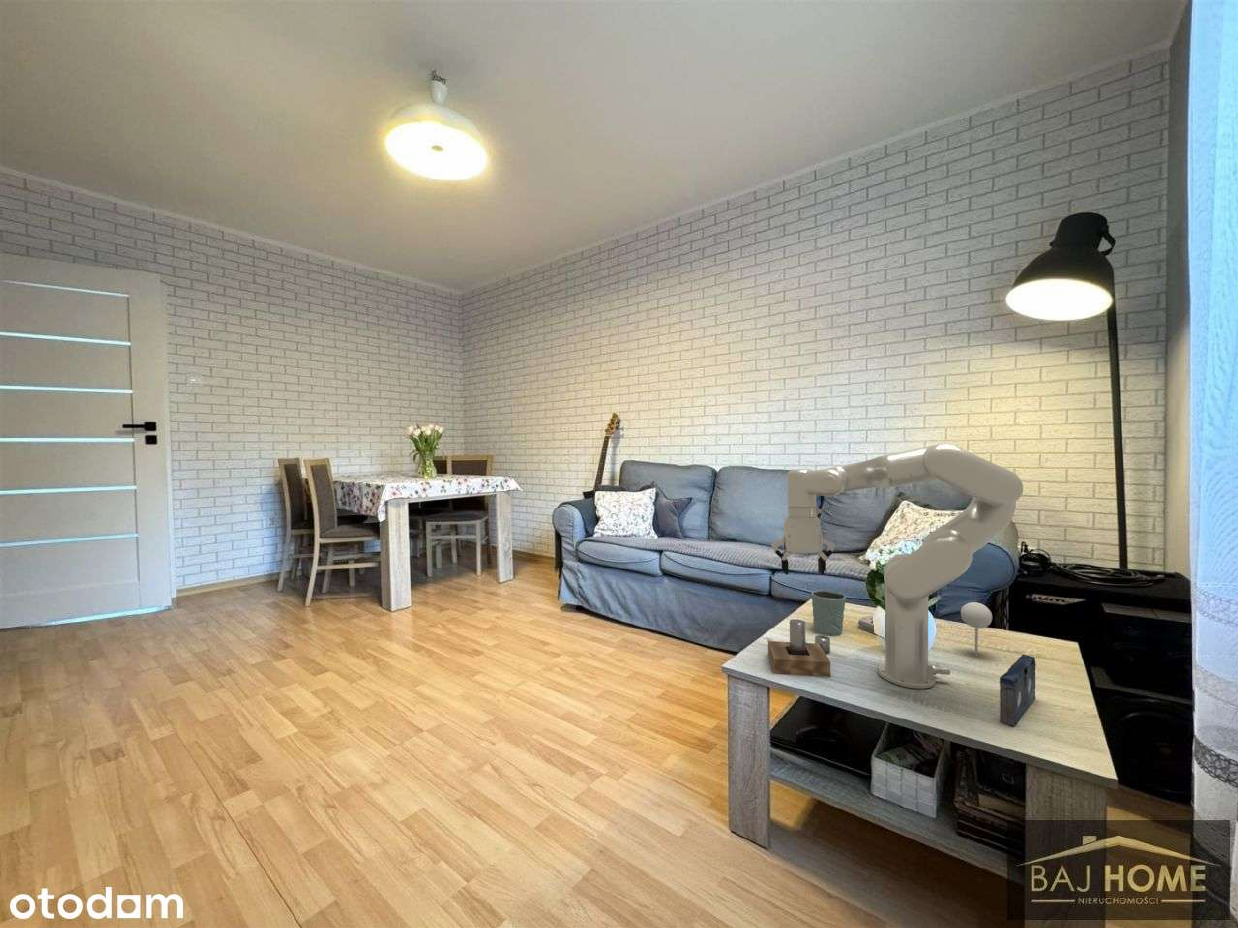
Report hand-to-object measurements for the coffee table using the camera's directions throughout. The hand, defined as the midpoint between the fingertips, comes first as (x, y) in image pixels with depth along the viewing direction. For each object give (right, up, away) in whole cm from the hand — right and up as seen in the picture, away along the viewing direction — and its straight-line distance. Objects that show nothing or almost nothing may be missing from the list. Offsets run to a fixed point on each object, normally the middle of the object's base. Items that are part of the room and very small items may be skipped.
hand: (803, 573), depth 134 cm
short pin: (+7, -24, +5) cm, 25 cm away
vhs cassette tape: (+37, -25, -28) cm, 53 cm away
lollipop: (+49, -24, +1) cm, 55 cm away
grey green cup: (+16, -24, +20) cm, 35 cm away
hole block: (-3, -24, -4) cm, 25 cm away
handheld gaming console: (+34, -24, +19) cm, 45 cm away
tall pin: (-3, -24, -4) cm, 25 cm away
